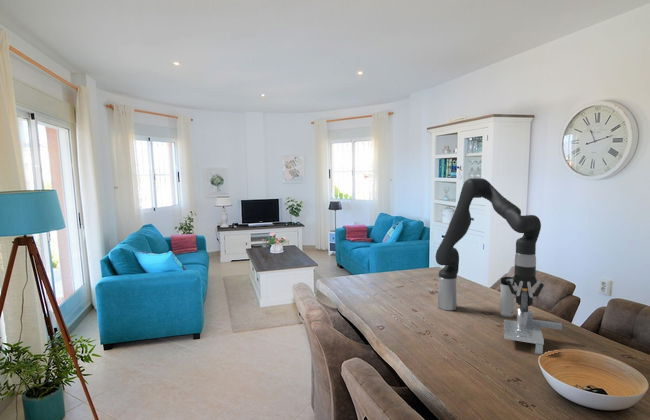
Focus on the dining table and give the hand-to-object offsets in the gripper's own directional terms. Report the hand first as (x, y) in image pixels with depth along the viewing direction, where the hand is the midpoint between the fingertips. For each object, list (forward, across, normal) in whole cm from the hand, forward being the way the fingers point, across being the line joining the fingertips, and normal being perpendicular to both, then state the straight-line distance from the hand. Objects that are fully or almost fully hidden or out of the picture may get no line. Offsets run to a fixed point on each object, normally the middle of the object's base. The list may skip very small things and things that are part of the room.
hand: (524, 304), depth 144 cm
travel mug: (+19, -5, +34) cm, 39 cm away
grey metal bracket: (+19, +4, +5) cm, 20 cm away
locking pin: (+3, 0, 0) cm, 3 cm away
